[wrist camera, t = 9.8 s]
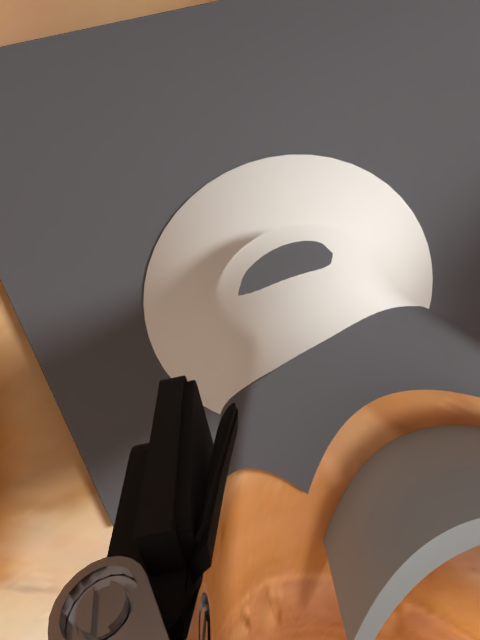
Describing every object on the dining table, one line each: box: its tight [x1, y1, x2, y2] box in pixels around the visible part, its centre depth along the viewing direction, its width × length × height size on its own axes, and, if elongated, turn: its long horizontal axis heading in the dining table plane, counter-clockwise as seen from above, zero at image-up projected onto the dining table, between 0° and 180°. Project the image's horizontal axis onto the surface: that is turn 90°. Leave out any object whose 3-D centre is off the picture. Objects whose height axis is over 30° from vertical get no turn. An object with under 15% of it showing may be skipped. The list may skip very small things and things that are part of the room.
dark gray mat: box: [0, 0, 480, 527], centre depth 15 cm, size 18×18×1 cm
